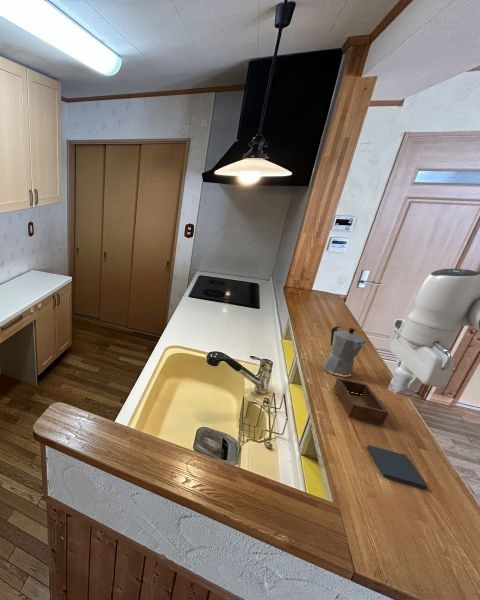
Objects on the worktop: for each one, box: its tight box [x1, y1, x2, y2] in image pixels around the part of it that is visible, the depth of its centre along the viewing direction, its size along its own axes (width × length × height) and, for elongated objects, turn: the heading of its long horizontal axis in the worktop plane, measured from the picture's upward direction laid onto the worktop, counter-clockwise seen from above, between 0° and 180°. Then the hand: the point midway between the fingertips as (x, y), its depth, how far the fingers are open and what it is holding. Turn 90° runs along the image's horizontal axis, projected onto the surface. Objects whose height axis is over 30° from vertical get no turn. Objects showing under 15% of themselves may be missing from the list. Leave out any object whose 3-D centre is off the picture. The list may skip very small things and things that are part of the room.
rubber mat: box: [366, 444, 428, 490], centre depth 81 cm, size 8×10×1 cm
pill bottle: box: [388, 361, 416, 398], centre depth 83 cm, size 5×5×8 cm
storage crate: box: [333, 377, 389, 426], centre depth 103 cm, size 8×16×4 cm, turn 158°
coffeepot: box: [321, 325, 367, 379], centre depth 121 cm, size 15×9×18 cm, turn 174°
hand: (404, 382), depth 83 cm, fingers closed on pill bottle, 5 cm apart
